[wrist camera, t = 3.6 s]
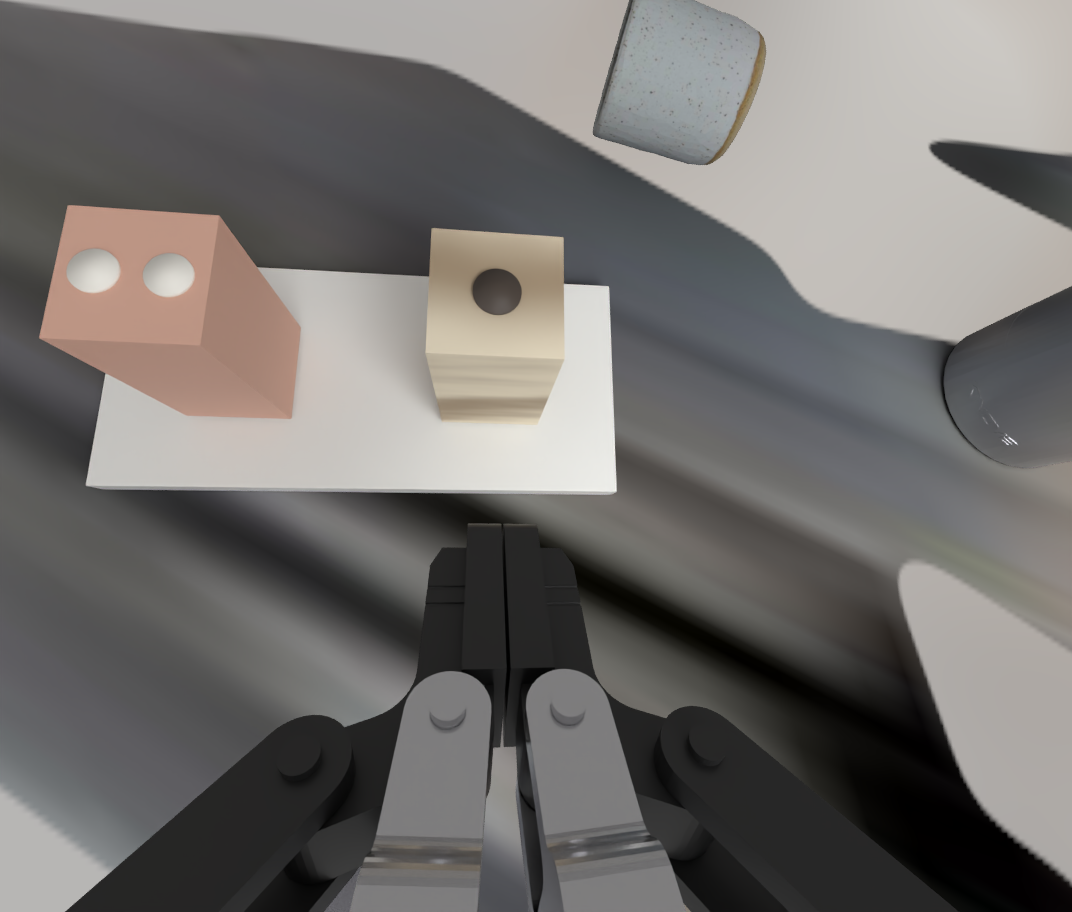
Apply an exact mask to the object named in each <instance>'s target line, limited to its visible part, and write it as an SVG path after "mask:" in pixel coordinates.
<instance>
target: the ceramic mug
mask: <svg viewBox="0 0 1072 912" xmlns="http://www.w3.org/2000/svg"><path fill="white" fill-rule="evenodd" d="M765 56H766V45H765V41H764V38H763V36H762V35H761V34H760V32H758V31H757V30H755V29H754V28H753V27H751V26H750V25H748V24H747V23H746V22H744V21H742V20H741V19H739V18H737V17H735V16H732V15H730V14H727V13H723V12H721V11H718V10H716V9H713V8H711V7H708V6H706V5H704V4H701V3H699V2H697V1H695V0H629V3H628V7H627V10H626V13H625V16H624V20H623V23H622V27H621V30H620V34H619V37H618V41H617V44H616V47H615V51H614V54H613V58H612V61H611V65H610V68H609V71H608V75H607V79H606V83H605V86H604V89H603V93H602V97H601V101H600V104H599V107H598V111H597V115H596V119H595V122H594V127H593V135H594V136H596V137H598V138H601V139H605V140H608V141H612V142H616V143H619V144H622V145H626V146H629V147H633V148H636V149H639V150H642V151H646V152H651V153H655V154H658V155H661V156H664V157H667V158H670V159H674V160H677V161H681V162H684V163H687V164H696V165H708V164H711V163H713V162H714V161H716V160H717V159H718V158H720V157H721V156H722V155H723V154H724V153H725V152H726V150H727V149H728V148H729V146H730V145H731V143H732V142H733V140H734V138H735V137H736V135H737V133H738V131H739V130H740V128H741V126H742V124H743V121H744V120H745V118H746V116H747V114H748V111H749V109H750V107H751V104H752V101H753V99H754V96H755V94H756V91H757V89H758V86H759V83H760V80H761V76H762V72H763V68H764V63H765Z"/></svg>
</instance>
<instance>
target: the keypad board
mask: <svg viewBox="0 0 1072 912" xmlns="http://www.w3.org/2000/svg"><path fill="white" fill-rule="evenodd" d="M257 268H258V269H259V271H260V272H261V273H262V275H263V276H264V278H265V279H266V280H267V282H268V283H269V284H270V286H271V287H272V289H273V290H274V291H275V293H276V294H277V295H278V297H279V298H280V299H281V301H282V302H283V304H284V305H285V306H286V308H287V309H288V310H289V312H290V313H291V315H292V316H293V317H294V319H295V320H296V321H297V323H298V324H299V326H300V327H301V331H300V341H299V351H298V360H297V370H296V379H295V389H294V398H293V408H292V418H291V419H277V418H245V417H213V416H186V415H184V414H182V413H180V412H178V411H176V410H175V409H173V408H171V407H169V406H167V405H165V404H163V403H161V402H159V401H157V400H156V399H154V398H152V397H150V396H148V395H146V394H144V393H142V392H140V391H138V390H137V389H135V388H133V387H131V386H129V385H127V384H125V383H123V382H121V381H120V380H118V379H116V378H114V377H112V376H110V375H108V374H105V380H104V386H103V391H102V397H101V402H100V408H99V414H98V419H97V425H96V431H95V436H94V442H93V448H92V453H91V459H90V465H89V470H88V476H87V481H86V486H90V487H94V488H99V489H119V490H212V491H305V492H399V493H492V494H586V495H611V494H613V493H615V492H617V491H616V464H615V437H614V410H613V383H612V356H611V329H610V302H609V286H593V285H574V284H564V351H565V359H564V362H563V364H562V367H561V369H560V371H559V374H558V376H557V379H556V381H555V383H554V386H553V388H552V391H551V393H550V395H549V398H548V400H547V403H546V405H545V408H544V410H543V412H542V415H541V417H540V420H539V422H538V424H537V425H524V424H493V423H461V422H442V420H441V416H440V412H439V407H438V403H437V399H436V395H435V391H434V387H433V382H432V378H431V374H430V370H429V366H428V362H427V357H426V353H425V351H426V331H427V311H428V291H429V277H426V276H408V275H389V274H371V273H352V272H334V271H315V270H297V269H278V268H260V267H257Z"/></svg>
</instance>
